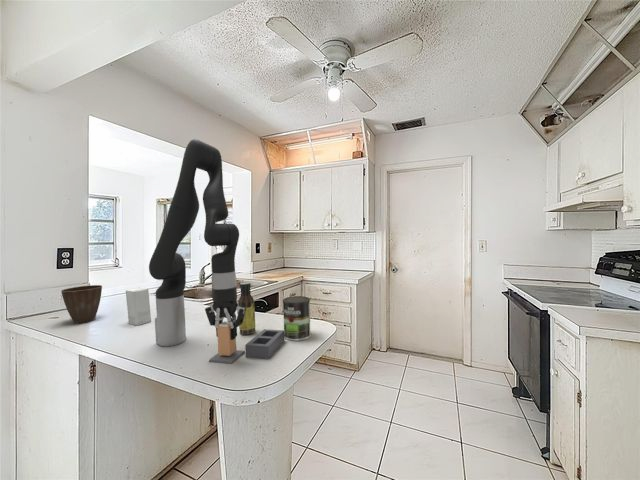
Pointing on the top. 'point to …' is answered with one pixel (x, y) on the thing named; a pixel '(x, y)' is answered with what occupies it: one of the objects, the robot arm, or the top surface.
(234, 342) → the plug
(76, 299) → the plant pot
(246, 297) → the sauce bottle
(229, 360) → the mat
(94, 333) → the top surface
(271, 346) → the grey block holder
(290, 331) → the coffee can
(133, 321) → the skincare box
